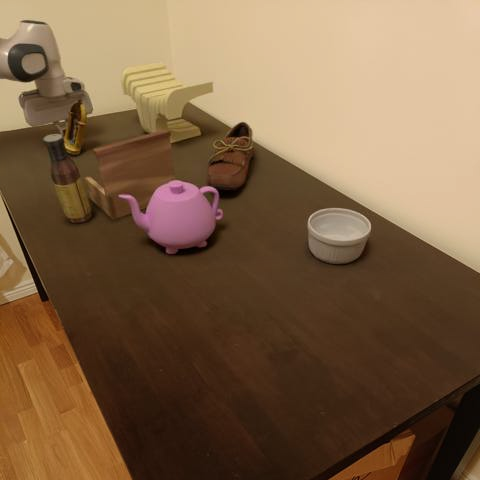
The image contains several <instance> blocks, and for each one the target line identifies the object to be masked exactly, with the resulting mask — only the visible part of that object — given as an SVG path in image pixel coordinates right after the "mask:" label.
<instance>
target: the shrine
mask: <svg viewBox="0 0 480 480" xmlns="http://www.w3.org/2000/svg"><path fill="white" fill-rule="evenodd" d="M87 121H88V115H87V111H86V108H85V106H84V104H83V103H82V100H81V99H79V100H78V102H75V103H73V105H72V106H71V108H70V111H69V120H68V124H67V129H66V132H65V135H63V139H64V145H65V148H66V151H67V153H68V155H69V156H79V155H80V154H81V152H82V151H81V149H82V145H83V140H84V136H85V132H86V126H87Z"/></svg>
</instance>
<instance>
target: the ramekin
mask: <svg viewBox="0 0 480 480" xmlns="http://www.w3.org/2000/svg"><path fill="white" fill-rule="evenodd" d="M306 227H307V232H308V233H307V234H308V237H307V238H308V239H307V240H308V248H309V251H310V252H311V253H312V255H313V257H314V258H316V259H318V260H320V261H321V262H324V263H326V264H331V265H344V264H350V263H352V262H354V261H355V260H357V259H358V258H360V256H361V255H362V253H363V252H364V249H365V246H366V243H367V241H368V238H369V237H370V235H371V232H372V224H371V221H370V220H369V219H368V218H367V217H366V216H365V215H364V214H362V213H359V212H357V211H354V210H352V209H347V208H341V207H329V208H328V207H327V208H324V209H319V210H317V211H315V212H313V213H312V214H311V215H310V216H309V217H308V220H307V226H306Z"/></svg>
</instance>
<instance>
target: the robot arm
mask: <svg viewBox="0 0 480 480" xmlns="http://www.w3.org/2000/svg"><path fill="white" fill-rule="evenodd" d="M61 62H62V60H61V53H60V49H59V46H58V42H57V39H56V35H55V34H54V32H53V29H52V27H51V26H50V25H49V24H48V23H47V22H45V21H40V20H32V19H24V20H21V21H19V26H18V28H17V29H16V31H15V32H14V34H13V35H12V36H10V37H9V38H8V39H7V38H1V37H0V80H8V81H12V82H19V83H27V84H28V83H31V82H34V84H35V85H34V86H35V89H31V90H26V91H22V92H21V93H20V94H19V95H18V97H17V98H18V102H19V106H20V108H21V109H22V112H23V116H24V120H25V122H26V124H27V125H29V126H30V127H32V128H35V127H39V126H45V125H48V124H53V125H54V126H55V127H56V128H57V129H58V131H59V134H60V135H62V136H63V137H64V136H65V132H66V129H67V124H68V120H69V111H70V108H71V106H72V105H73V103H75V102H78V100H79V99H81V100H82V103H83V104H84V106H85V108H86V111H87V116H88V115H91V114H93V111H94V108H93V107H94V106H93V103H92V100H91V97H90V95H89V92H87V90H85V89H86V86H85V83H84V82H83V81H82V80H80V79H78V78H76V77H73V76H72V77H71V76H66V72H65V69H64V68H63V66H62V63H61ZM61 121H64V122H65V127H61V126H60V125H61Z"/></svg>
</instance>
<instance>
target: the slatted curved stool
mask: <svg viewBox="0 0 480 480" xmlns="http://www.w3.org/2000/svg"><path fill="white" fill-rule="evenodd" d="M120 80H121V81H120V82H121V87H122V88H121V89H122V93H123V95H124V96H125V95H127V96H128V97H130V98H131V99H132V101H133V103H135V107H136V112H137V115H138V118H139V123H140V126H141V129H142V130H143V131H144V132H146V133H147V134H151V133H155V132H158V131H162V130H166V129H167V130H169V131H171V136H170V141H171V144H173V143H176V142H181V141H184V140H187V139H191V138H195V137H198V136H201V135H202V132H201V129H200V127H198V126H196V125H194V124H193V123H191V122H189V121H187V120H185V119H183V118H182V115H183V110H184V108H185V106H186V105H187V104H188V103H189V102H191V101H192V100H194V99H196V98H199V97H201V96H204V95H208V94H212V93H214V84H213V83H214V82H213V81H210V82H205V83H200V84H196V85H192V86H187V85H184V84H183V83H181V81H179V79H177V78H176V77H175V75H174V74H172V72H171V71H170V70H169V68H167V65H166V64H165V62H164V61H157V62H153V63H147V64H140V65H135V66H130V67H127V68H126V69H124V71H123V72H122V74H121V77H120Z"/></svg>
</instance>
